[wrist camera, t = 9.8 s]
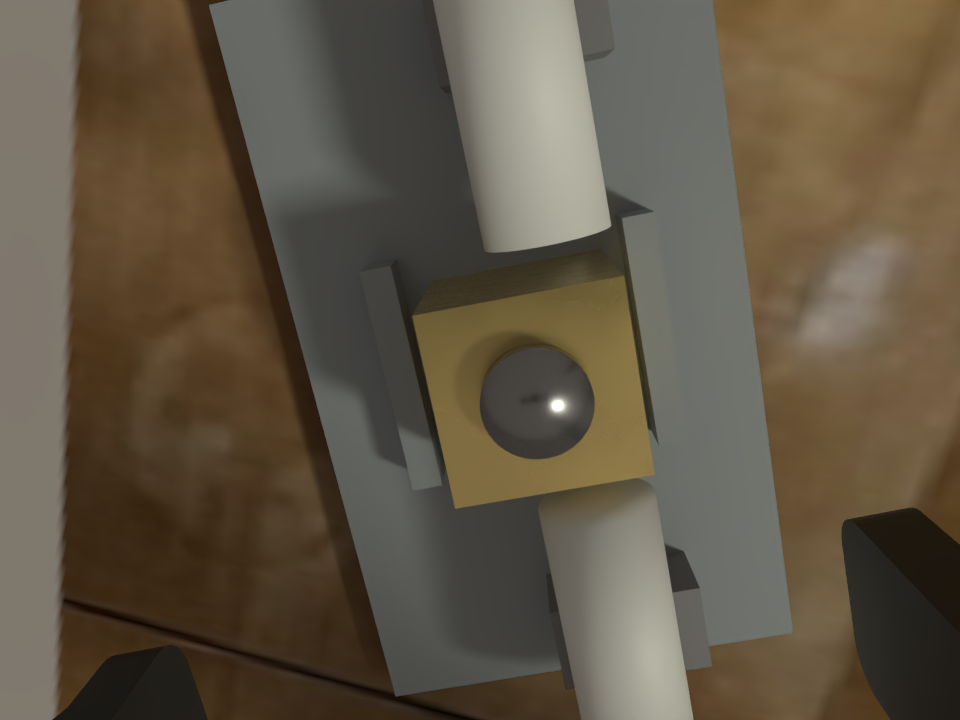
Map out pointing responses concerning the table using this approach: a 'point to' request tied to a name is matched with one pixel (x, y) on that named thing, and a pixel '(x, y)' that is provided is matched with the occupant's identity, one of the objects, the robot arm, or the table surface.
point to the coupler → (534, 378)
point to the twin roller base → (506, 242)
